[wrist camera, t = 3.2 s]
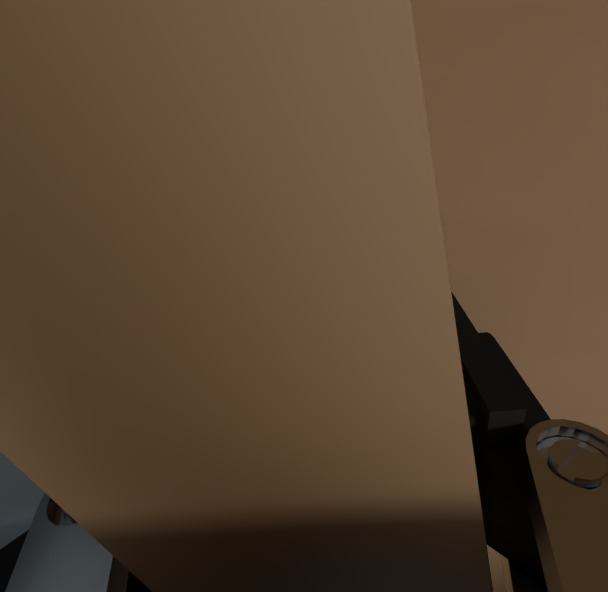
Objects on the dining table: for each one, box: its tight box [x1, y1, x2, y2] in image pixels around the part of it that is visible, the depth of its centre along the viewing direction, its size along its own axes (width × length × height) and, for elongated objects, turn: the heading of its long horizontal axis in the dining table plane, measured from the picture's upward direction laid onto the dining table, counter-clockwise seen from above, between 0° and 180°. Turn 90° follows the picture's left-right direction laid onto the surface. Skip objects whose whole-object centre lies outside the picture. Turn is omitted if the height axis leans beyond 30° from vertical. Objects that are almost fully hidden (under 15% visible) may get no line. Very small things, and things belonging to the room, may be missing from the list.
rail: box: [0, 0, 493, 592], centre depth 8 cm, size 4×16×6 cm, turn 18°
